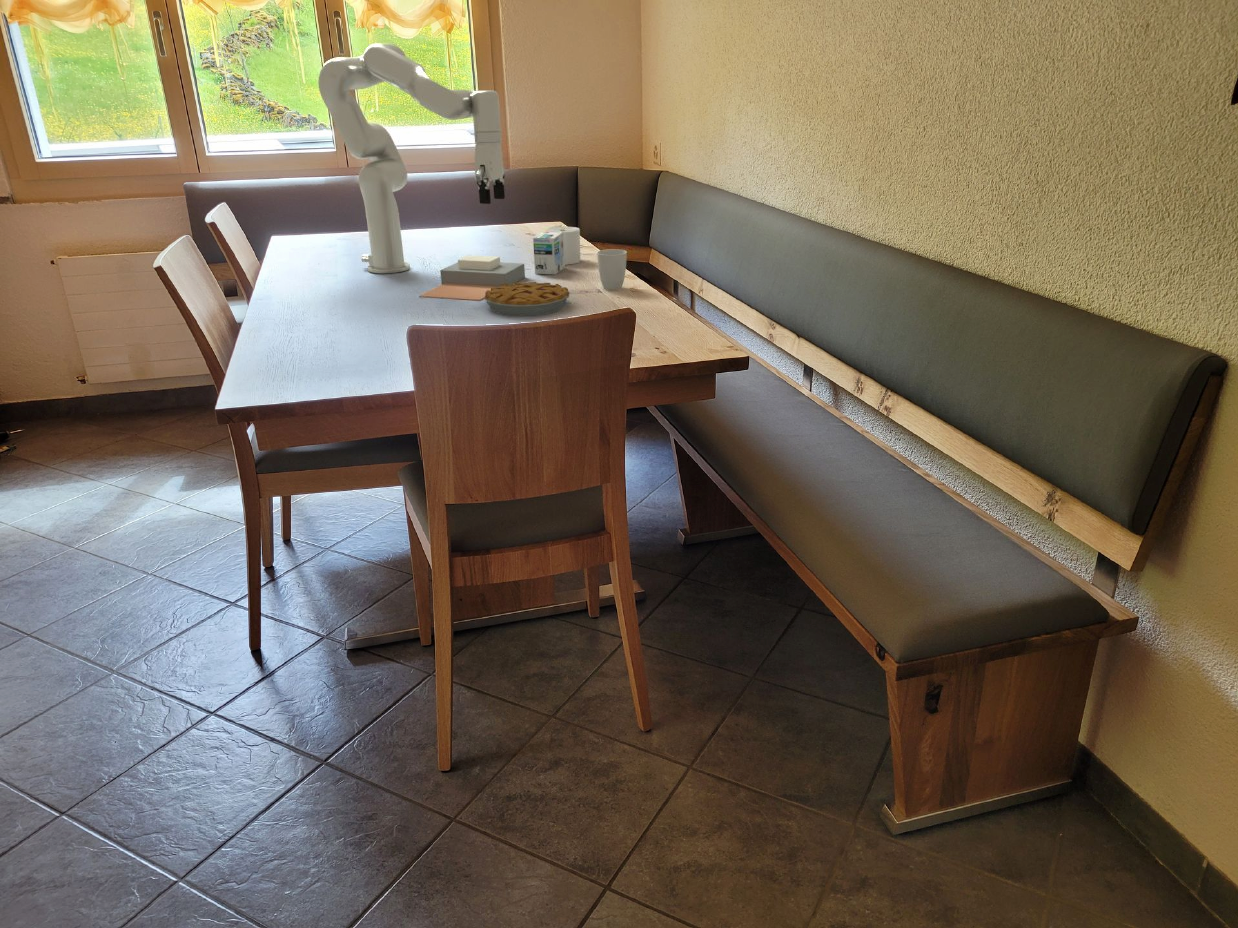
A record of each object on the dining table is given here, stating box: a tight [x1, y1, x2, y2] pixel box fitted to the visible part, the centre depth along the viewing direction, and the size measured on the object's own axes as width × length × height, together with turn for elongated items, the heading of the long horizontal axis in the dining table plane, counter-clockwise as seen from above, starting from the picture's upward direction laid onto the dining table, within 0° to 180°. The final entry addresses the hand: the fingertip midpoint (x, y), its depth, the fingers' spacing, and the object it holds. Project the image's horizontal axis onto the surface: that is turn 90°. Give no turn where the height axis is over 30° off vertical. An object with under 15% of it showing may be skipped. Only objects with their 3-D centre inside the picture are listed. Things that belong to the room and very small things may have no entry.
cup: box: [596, 248, 628, 291], centre depth 242 cm, size 8×8×10 cm
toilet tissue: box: [545, 224, 582, 266], centre depth 276 cm, size 11×12×10 cm
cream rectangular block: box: [457, 254, 501, 270], centre depth 253 cm, size 10×7×2 cm
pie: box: [482, 281, 571, 317], centre depth 226 cm, size 22×22×5 cm
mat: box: [418, 283, 497, 302], centre depth 242 cm, size 18×15×1 cm
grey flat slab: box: [439, 261, 526, 287], centre depth 254 cm, size 20×14×4 cm
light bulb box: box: [532, 231, 565, 275], centre depth 264 cm, size 11×7×11 cm, turn 168°
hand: (492, 201), depth 253 cm, fingers open, 9 cm apart
